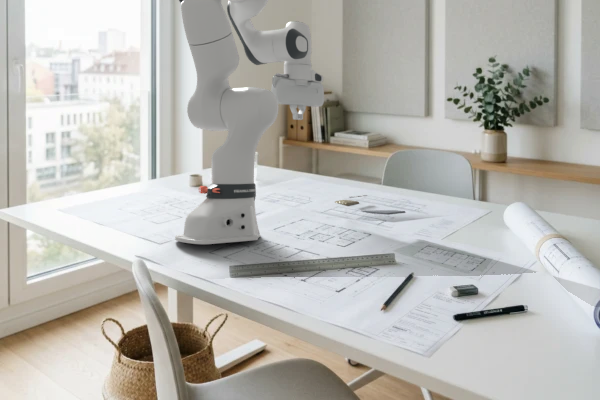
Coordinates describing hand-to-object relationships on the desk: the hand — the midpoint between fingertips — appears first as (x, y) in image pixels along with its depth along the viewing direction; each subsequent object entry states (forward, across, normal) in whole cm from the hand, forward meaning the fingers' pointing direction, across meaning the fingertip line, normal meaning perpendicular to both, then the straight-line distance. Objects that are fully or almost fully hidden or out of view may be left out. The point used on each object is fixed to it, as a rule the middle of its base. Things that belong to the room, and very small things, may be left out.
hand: (297, 119), depth 191 cm
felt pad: (+29, +15, -22) cm, 40 cm away
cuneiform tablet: (+27, +15, -13) cm, 34 cm away
